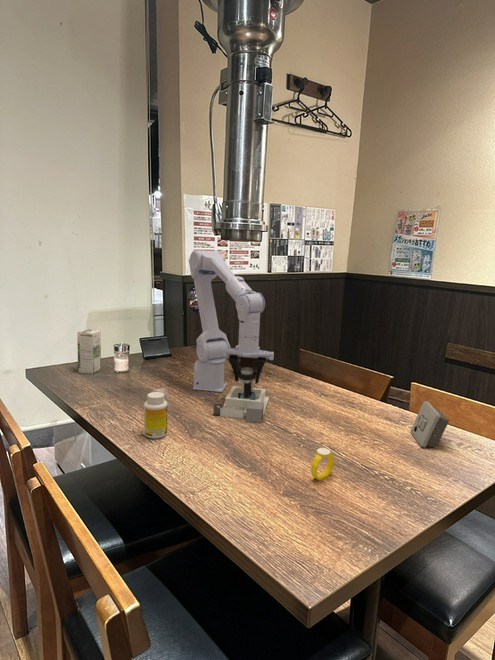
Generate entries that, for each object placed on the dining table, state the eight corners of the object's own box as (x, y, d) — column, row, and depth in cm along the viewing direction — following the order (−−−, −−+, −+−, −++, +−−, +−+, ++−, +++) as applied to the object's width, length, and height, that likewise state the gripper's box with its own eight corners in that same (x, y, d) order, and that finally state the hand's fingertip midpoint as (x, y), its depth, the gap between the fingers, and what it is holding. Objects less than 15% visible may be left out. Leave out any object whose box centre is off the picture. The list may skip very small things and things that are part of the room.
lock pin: (212, 415, 118) (212, 406, 118) (214, 412, 121) (214, 403, 120) (242, 419, 117) (243, 410, 116) (244, 415, 120) (244, 406, 119)
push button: (255, 396, 131) (255, 364, 129) (263, 402, 126) (263, 370, 124) (235, 399, 128) (234, 367, 126) (242, 406, 124) (242, 373, 121)
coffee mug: (258, 378, 152) (259, 350, 150) (234, 377, 152) (235, 349, 150) (258, 368, 164) (259, 343, 162) (235, 367, 164) (236, 342, 162)
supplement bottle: (170, 437, 104) (170, 397, 102) (147, 441, 102) (146, 399, 100) (163, 428, 109) (164, 389, 107) (141, 431, 107) (141, 392, 105)
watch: (318, 485, 87) (319, 459, 86) (307, 479, 89) (308, 454, 88) (336, 474, 91) (337, 448, 90) (325, 468, 93) (326, 443, 92)
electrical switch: (409, 432, 114) (417, 399, 112) (429, 435, 114) (437, 402, 112) (421, 449, 105) (430, 413, 103) (442, 452, 104) (452, 416, 102)
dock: (216, 418, 117) (216, 404, 116) (230, 394, 135) (230, 383, 134) (260, 423, 115) (261, 409, 114) (268, 398, 133) (269, 386, 132)
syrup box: (86, 368, 155) (84, 328, 152) (101, 369, 154) (100, 329, 151) (77, 373, 149) (76, 331, 146) (93, 374, 148) (92, 333, 145)
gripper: (220, 336, 120) (219, 383, 123) (272, 340, 118) (270, 388, 121) (226, 331, 127) (224, 376, 130) (275, 335, 125) (272, 380, 127)
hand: (246, 381), depth 126 cm, fingers closed on push button, 5 cm apart
